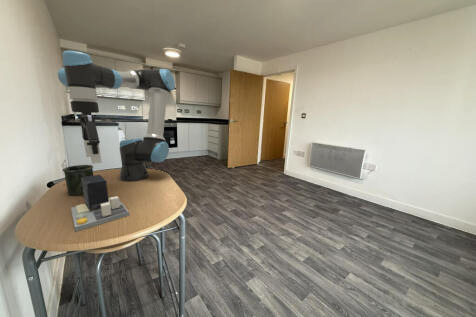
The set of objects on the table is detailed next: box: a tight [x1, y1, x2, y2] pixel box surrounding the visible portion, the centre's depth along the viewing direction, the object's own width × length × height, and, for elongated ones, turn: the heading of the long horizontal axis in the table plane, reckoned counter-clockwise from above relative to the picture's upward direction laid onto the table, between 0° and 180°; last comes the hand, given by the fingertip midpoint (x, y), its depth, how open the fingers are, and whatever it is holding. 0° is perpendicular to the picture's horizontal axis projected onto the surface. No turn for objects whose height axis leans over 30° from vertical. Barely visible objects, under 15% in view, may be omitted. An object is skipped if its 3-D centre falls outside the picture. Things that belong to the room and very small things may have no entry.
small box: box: [81, 174, 109, 211], centre depth 71 cm, size 11×6×10 cm, turn 48°
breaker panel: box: [70, 197, 130, 232], centre depth 69 cm, size 15×18×2 cm
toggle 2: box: [109, 195, 120, 209], centre depth 69 cm, size 2×2×4 cm
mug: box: [62, 164, 94, 197], centre depth 86 cm, size 11×15×12 cm
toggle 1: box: [100, 202, 111, 217], centre depth 64 cm, size 2×2×4 cm
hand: (93, 159), depth 70 cm, fingers open, 13 cm apart
